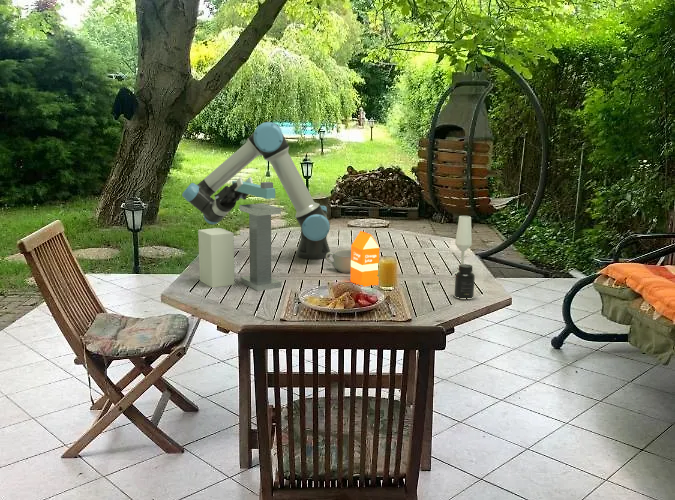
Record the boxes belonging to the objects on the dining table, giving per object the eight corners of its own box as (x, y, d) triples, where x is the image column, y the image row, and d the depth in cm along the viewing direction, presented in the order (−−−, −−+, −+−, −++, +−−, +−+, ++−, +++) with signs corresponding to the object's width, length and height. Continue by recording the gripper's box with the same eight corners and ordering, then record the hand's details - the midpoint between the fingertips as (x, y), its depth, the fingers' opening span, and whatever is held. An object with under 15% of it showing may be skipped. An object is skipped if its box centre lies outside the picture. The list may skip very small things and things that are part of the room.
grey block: (199, 280, 249) (198, 229, 245) (221, 277, 254) (220, 227, 250) (212, 287, 240) (211, 235, 235) (234, 284, 245) (233, 233, 240)
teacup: (362, 269, 271) (362, 250, 269) (354, 275, 261) (354, 256, 259) (331, 266, 276) (331, 247, 274) (322, 272, 266) (322, 253, 264)
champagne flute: (457, 276, 262) (461, 218, 257) (450, 272, 269) (453, 215, 263) (472, 275, 264) (476, 218, 259) (465, 271, 270) (468, 215, 265)
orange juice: (361, 286, 245) (362, 235, 240) (350, 281, 253) (351, 231, 248) (378, 284, 248) (380, 233, 244) (367, 279, 256) (368, 229, 252)
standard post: (240, 282, 248) (239, 205, 242) (263, 278, 254) (263, 203, 247) (257, 290, 237) (256, 210, 230) (281, 287, 243) (281, 208, 236)
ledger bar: (232, 189, 253) (232, 175, 252) (240, 189, 255) (240, 175, 253) (266, 198, 230) (266, 183, 229) (275, 198, 232) (275, 183, 231)
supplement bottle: (452, 294, 237) (453, 263, 234) (470, 294, 237) (472, 263, 235) (457, 300, 230) (459, 268, 227) (475, 300, 231) (477, 267, 228)
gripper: (244, 210, 268) (267, 188, 250) (207, 213, 259) (228, 190, 240) (240, 194, 270) (263, 170, 251) (203, 196, 261) (224, 172, 242)
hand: (246, 180), depth 246 cm, fingers closed on ledger bar, 3 cm apart
